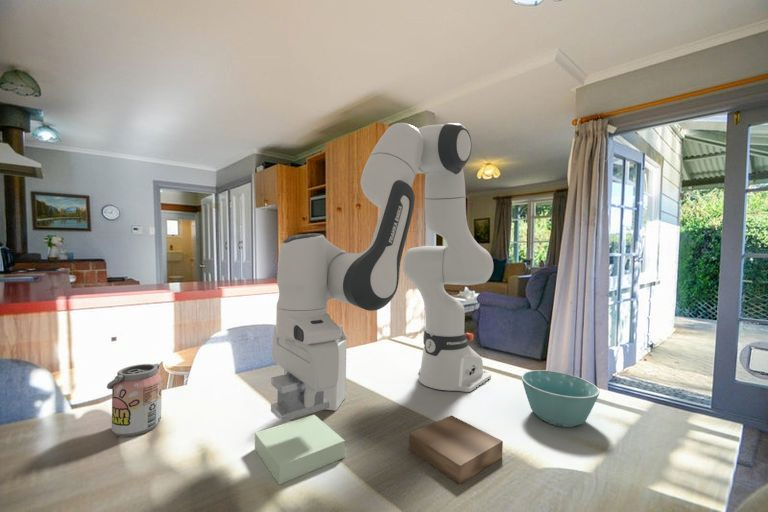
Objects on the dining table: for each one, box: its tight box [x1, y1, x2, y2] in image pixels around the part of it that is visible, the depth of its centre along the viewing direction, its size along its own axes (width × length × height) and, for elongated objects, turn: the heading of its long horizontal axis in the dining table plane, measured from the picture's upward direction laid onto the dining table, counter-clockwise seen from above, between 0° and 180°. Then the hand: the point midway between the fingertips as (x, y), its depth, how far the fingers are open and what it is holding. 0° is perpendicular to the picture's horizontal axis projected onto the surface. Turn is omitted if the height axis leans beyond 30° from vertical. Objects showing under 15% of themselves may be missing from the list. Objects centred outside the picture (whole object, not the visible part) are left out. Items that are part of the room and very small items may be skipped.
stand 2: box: [408, 414, 504, 485], centre depth 63 cm, size 12×12×3 cm
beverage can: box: [106, 363, 163, 438], centre depth 69 cm, size 9×8×12 cm
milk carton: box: [324, 325, 348, 411], centre depth 82 cm, size 7×7×19 cm
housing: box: [270, 373, 329, 423], centre depth 61 cm, size 5×9×6 cm, turn 129°
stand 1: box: [254, 414, 346, 485], centre depth 62 cm, size 12×12×3 cm
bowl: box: [521, 369, 600, 428], centre depth 77 cm, size 16×16×8 cm
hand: (300, 398), depth 61 cm, fingers closed on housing, 5 cm apart
